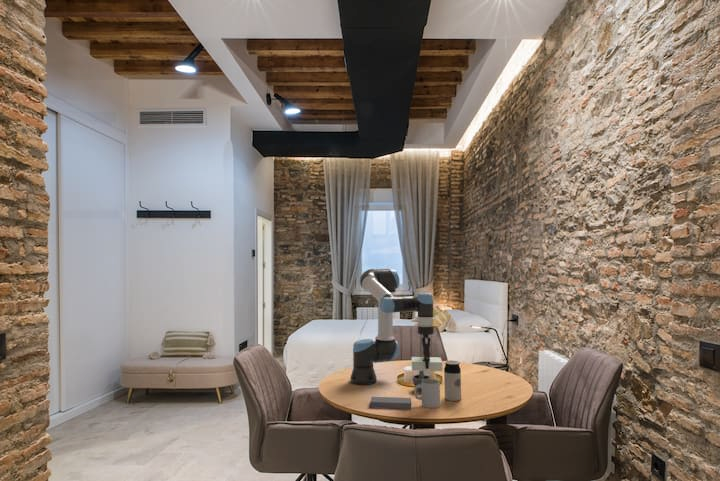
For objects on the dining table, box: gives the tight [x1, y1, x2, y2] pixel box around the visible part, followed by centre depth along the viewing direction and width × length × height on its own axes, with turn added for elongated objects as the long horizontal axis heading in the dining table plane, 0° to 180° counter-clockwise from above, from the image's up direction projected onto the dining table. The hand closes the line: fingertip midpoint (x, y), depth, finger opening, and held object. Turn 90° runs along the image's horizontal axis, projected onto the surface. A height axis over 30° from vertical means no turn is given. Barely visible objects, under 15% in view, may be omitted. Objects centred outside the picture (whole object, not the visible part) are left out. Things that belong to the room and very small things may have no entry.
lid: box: [411, 356, 443, 372], centre depth 193 cm, size 11×14×4 cm
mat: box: [369, 396, 412, 410], centre depth 192 cm, size 8×19×2 cm, turn 83°
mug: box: [413, 378, 441, 409], centre depth 192 cm, size 12×8×11 cm
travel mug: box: [443, 359, 462, 402], centre depth 201 cm, size 8×8×18 cm
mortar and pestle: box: [412, 371, 432, 393], centre depth 217 cm, size 11×9×12 cm
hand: (426, 372), depth 192 cm, fingers closed on lid, 11 cm apart
